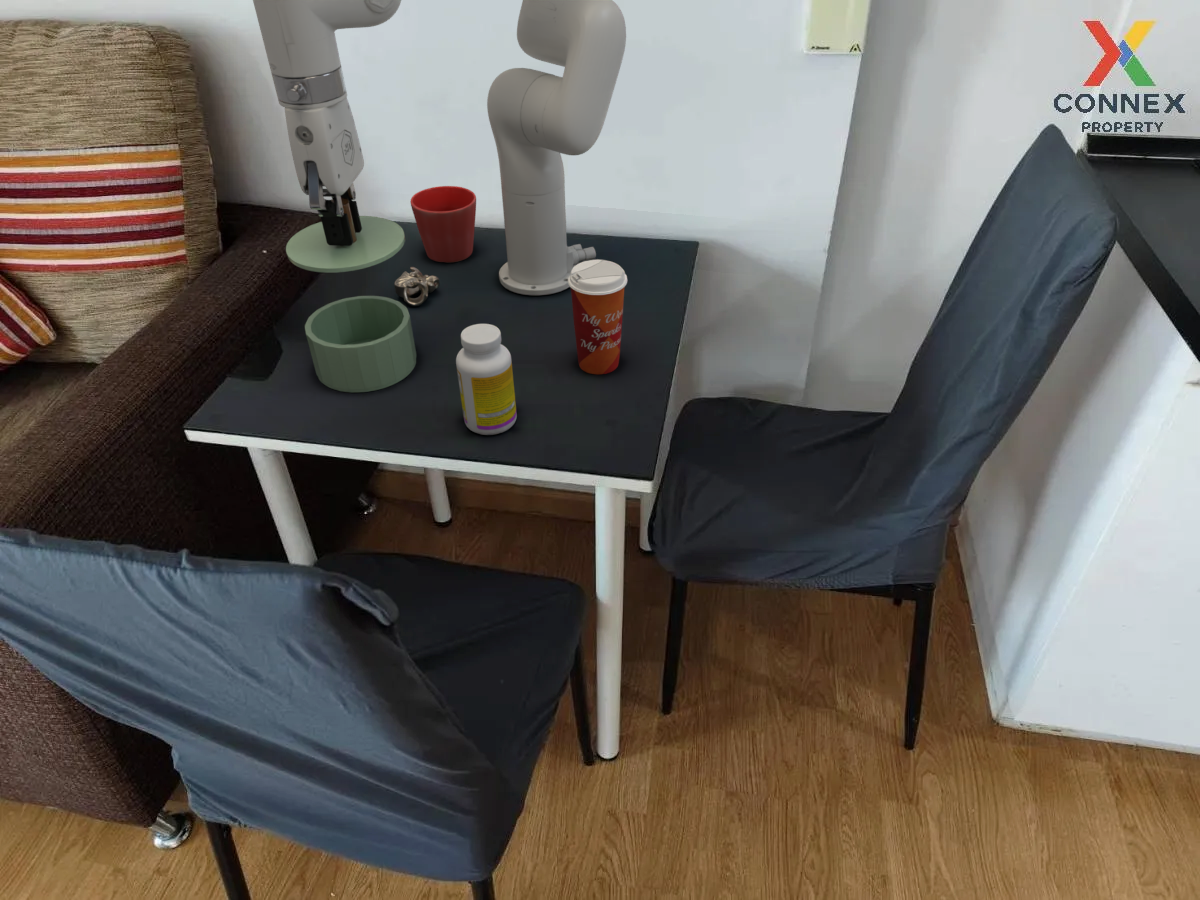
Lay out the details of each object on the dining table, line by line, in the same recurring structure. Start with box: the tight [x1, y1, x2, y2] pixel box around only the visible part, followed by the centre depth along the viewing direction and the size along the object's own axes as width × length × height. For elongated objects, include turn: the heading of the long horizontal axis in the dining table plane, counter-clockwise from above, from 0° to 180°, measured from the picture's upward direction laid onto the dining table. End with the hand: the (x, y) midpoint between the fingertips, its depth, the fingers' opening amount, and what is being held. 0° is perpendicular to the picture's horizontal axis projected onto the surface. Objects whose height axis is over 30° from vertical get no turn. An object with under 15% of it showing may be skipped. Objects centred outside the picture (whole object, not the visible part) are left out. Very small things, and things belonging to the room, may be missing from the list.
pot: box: [304, 295, 417, 393], centre depth 117 cm, size 14×14×7 cm
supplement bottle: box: [455, 323, 518, 436], centre depth 105 cm, size 7×7×13 cm
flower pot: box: [410, 185, 477, 264], centre depth 143 cm, size 11×11×10 cm
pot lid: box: [285, 198, 406, 274], centre depth 107 cm, size 15×15×6 cm
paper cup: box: [568, 259, 628, 375], centre depth 115 cm, size 8×8×14 cm
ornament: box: [394, 266, 440, 307], centre depth 133 cm, size 8×7×4 cm
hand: (344, 236), depth 108 cm, fingers closed on pot lid, 2 cm apart
